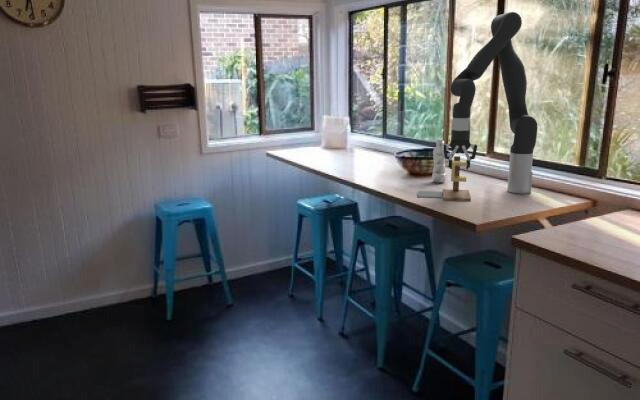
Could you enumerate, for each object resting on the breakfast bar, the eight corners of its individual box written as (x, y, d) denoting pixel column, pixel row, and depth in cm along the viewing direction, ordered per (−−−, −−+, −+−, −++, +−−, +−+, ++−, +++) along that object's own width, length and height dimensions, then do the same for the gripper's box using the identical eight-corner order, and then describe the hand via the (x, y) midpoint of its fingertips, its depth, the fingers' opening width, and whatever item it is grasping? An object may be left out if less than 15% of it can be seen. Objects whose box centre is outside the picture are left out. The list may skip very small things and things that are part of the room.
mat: (441, 192, 223) (441, 191, 223) (441, 198, 214) (441, 197, 214) (418, 191, 225) (418, 190, 225) (417, 197, 216) (417, 196, 216)
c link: (465, 179, 215) (466, 161, 213) (466, 181, 211) (467, 162, 209) (451, 179, 216) (451, 160, 214) (451, 181, 212) (452, 162, 210)
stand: (468, 192, 222) (470, 156, 218) (470, 201, 208) (472, 162, 204) (442, 191, 224) (444, 155, 220) (443, 200, 210) (444, 162, 206)
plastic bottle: (436, 184, 238) (437, 142, 233) (429, 181, 245) (430, 140, 240) (448, 183, 240) (450, 141, 235) (441, 180, 246) (442, 139, 241)
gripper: (478, 127, 210) (476, 167, 214) (442, 127, 213) (441, 166, 217) (479, 129, 203) (477, 171, 207) (443, 129, 206) (441, 170, 210)
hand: (458, 168), depth 212 cm, fingers closed on c link, 6 cm apart
